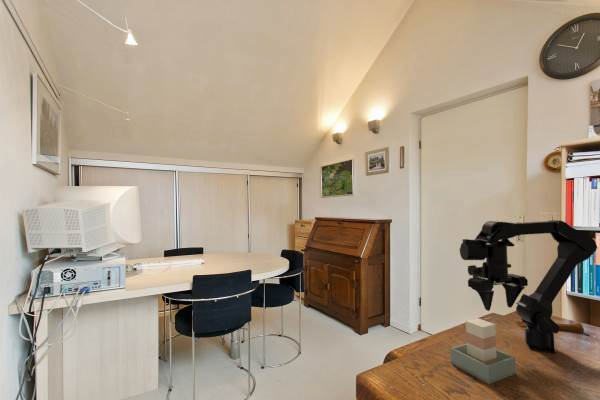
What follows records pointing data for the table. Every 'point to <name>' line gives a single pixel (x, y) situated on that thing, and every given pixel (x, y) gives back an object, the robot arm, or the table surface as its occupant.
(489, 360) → the tile stack
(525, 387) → the table surface
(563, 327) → the primitive tool
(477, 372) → the box
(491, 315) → the table surface
